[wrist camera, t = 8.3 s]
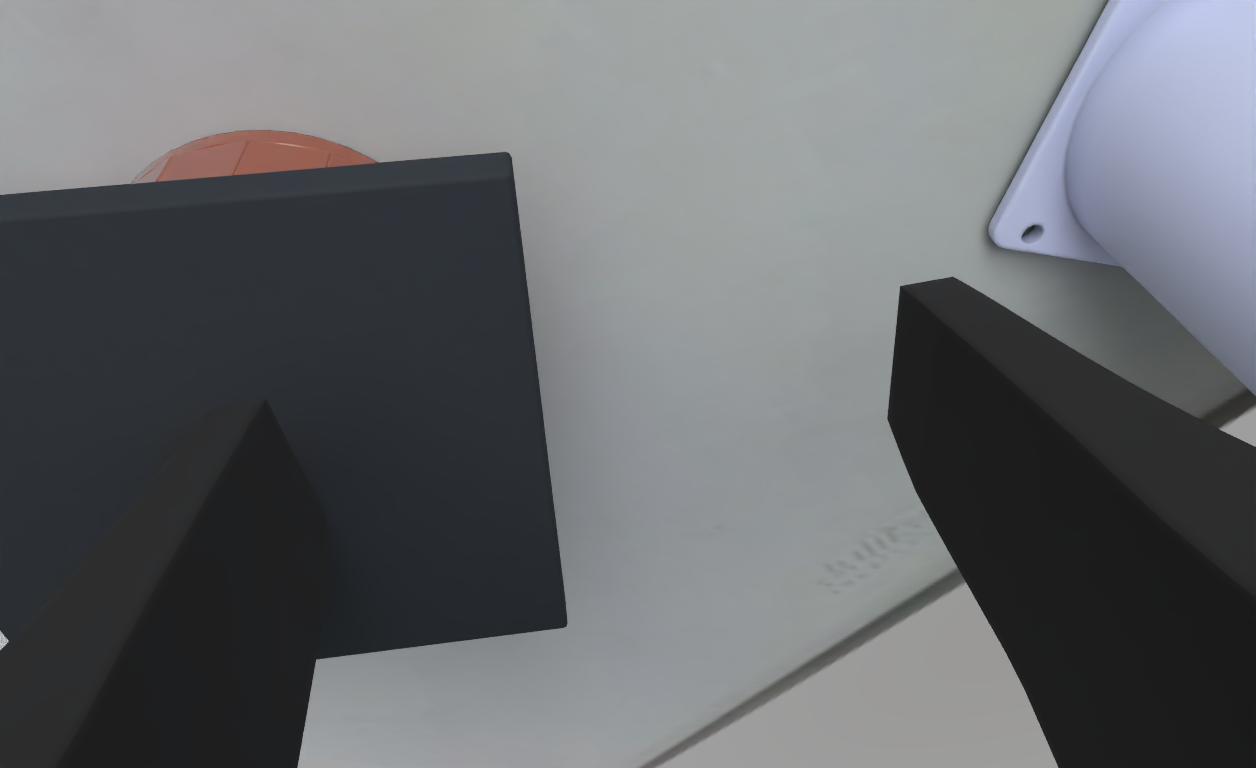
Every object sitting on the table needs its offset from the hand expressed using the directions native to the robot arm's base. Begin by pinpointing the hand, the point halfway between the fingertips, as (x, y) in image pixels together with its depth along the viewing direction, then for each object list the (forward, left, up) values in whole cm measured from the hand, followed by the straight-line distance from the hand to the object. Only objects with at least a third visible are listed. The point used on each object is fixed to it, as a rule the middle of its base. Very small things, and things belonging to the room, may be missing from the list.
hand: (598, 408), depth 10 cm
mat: (+5, +6, -5) cm, 9 cm away
